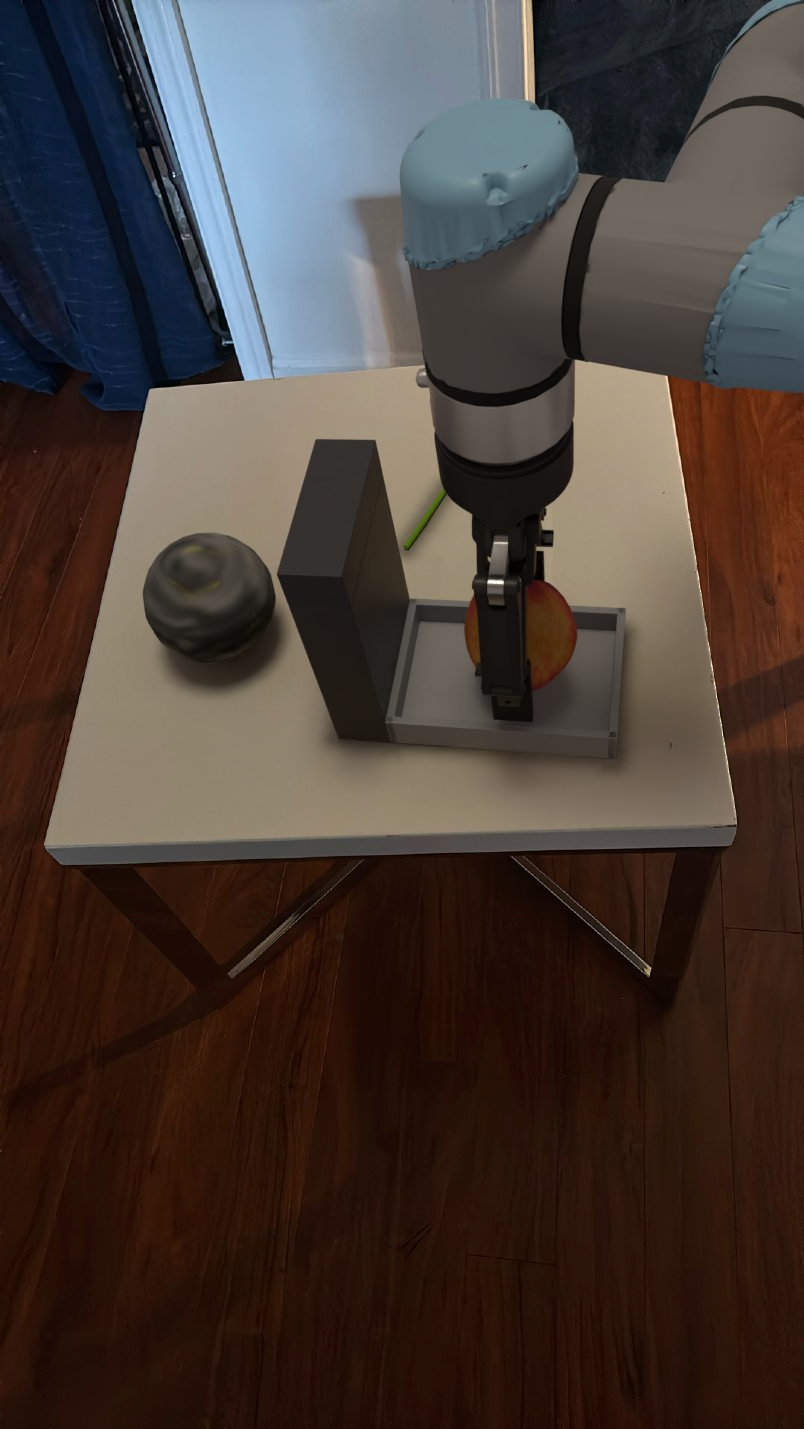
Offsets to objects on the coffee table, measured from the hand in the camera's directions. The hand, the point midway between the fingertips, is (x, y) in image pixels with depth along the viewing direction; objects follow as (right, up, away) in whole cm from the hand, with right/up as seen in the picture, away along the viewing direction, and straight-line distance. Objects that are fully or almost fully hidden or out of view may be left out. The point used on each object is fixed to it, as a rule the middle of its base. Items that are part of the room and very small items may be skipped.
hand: (520, 662), depth 75 cm
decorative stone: (-22, +2, +9) cm, 24 cm away
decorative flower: (-2, +15, +13) cm, 20 cm away
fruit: (0, 0, 0) cm, 0 cm away
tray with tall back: (-2, -2, +3) cm, 4 cm away
